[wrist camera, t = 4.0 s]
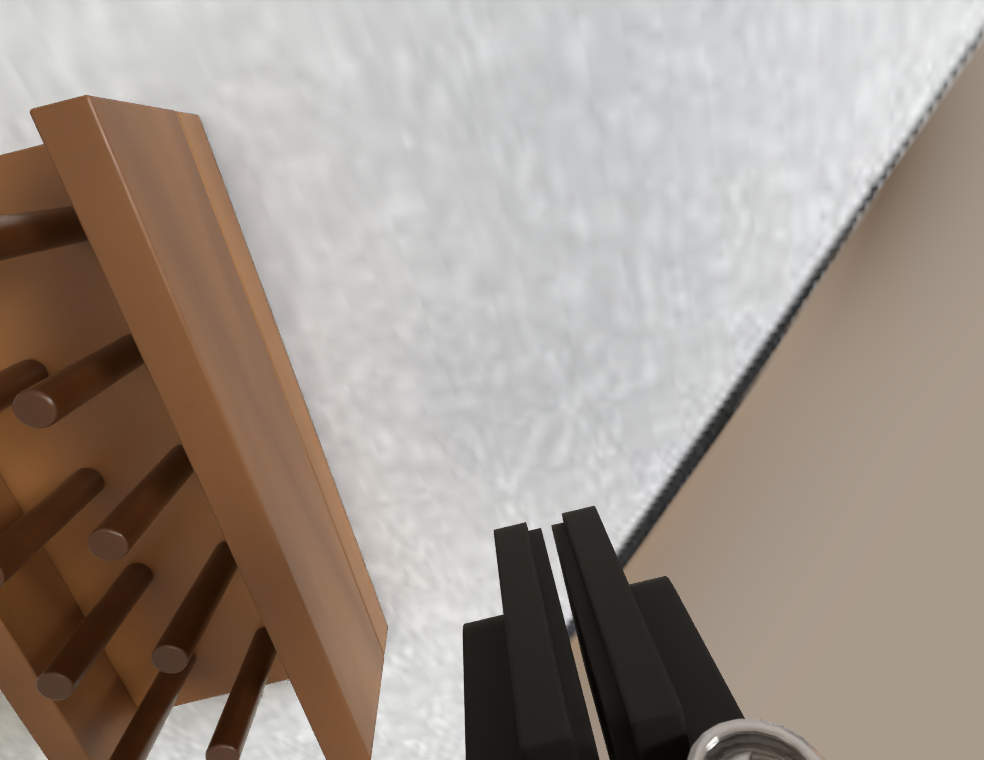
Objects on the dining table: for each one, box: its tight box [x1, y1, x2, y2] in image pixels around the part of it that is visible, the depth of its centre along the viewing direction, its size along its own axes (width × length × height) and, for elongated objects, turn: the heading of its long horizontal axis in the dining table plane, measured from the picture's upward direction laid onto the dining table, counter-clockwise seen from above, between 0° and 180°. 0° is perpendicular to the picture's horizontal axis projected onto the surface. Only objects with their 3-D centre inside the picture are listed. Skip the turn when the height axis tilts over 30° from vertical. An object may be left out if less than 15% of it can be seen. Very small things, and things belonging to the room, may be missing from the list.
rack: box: [0, 95, 388, 760], centre depth 17 cm, size 10×18×6 cm, turn 13°
